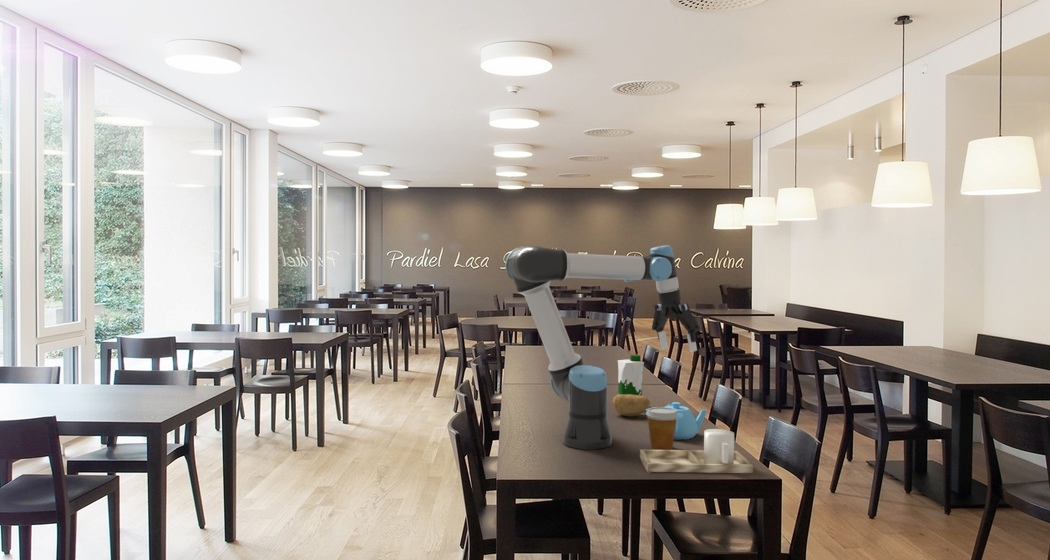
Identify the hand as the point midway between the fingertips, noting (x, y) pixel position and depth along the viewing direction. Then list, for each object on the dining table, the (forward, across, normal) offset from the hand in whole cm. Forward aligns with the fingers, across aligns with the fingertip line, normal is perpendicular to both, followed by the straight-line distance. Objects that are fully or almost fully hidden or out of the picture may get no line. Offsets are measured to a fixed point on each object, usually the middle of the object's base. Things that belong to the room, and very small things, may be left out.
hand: (678, 350), depth 232 cm
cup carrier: (+22, -34, +35) cm, 54 cm away
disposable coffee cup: (+22, -17, +31) cm, 42 cm away
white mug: (+23, -39, +31) cm, 55 cm away
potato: (+24, +22, +8) cm, 33 cm away
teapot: (+25, -7, +15) cm, 29 cm away
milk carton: (+26, +35, -3) cm, 43 cm away
